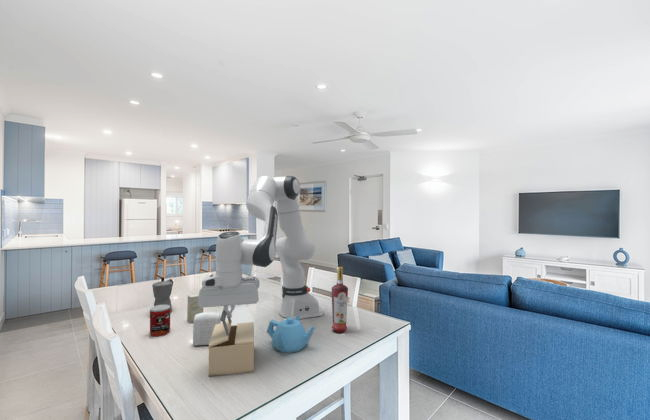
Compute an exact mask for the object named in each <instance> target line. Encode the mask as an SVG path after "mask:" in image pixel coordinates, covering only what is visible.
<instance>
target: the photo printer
mask: <svg viewBox="0 0 650 420" xmlns="http://www.w3.org/2000/svg"><path fill="white" fill-rule="evenodd" d="M220 318H221V313H219V312H215V311H203V313H199V314H196V315H195V317H194V321H193V326H192V327H193V329H192V330H193V331H192V345H193V346H194V347H195V346H197V347H198V346H207V345H208V346H209V342H210V339H211V336H212V333H213V330H214V327H215V325H217V324H219V323H222V321H221V320H220Z"/></svg>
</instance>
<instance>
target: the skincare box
mask: <svg viewBox="0 0 650 420" xmlns="http://www.w3.org/2000/svg"><path fill="white" fill-rule="evenodd" d="M198 296H199V293H195V294H189V295H187V317H186V318H187V319H186V321H187V322H188V323H190V324H191V323H193V321H194V317H195V315H196V314H199V313H203V312H204V307H203V308H200V307H199V306H198Z"/></svg>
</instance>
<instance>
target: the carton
mask: <svg viewBox="0 0 650 420" xmlns="http://www.w3.org/2000/svg"><path fill="white" fill-rule="evenodd" d="M254 365H255V323H254V322H253V321H252V322H251V321H250V322H248V321H247V322H237V324H231V328H230V333H229V338H228V341H225V342H222V343H220V344H217V345H214V346H211V347H209V346H208V377H217V376H225V375H233V374H241V373H250V372H251V373H252V372H255V369H254V368H255V367H254Z"/></svg>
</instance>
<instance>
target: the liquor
mask: <svg viewBox="0 0 650 420" xmlns="http://www.w3.org/2000/svg"><path fill="white" fill-rule="evenodd" d="M343 273H344V267H343V266H337V267H336V274H337V276H336V284H334V285H333V286H332V287H331V305H332V306H331V307H332V326H331V329H332V330H333V331H334V332H336V333H338V334H339V333H341V334H342V333H345V331H346V330H347V329H348V326H347V316H348V315H347V313H348V312H347V311H348V298H349V296H348V295H349V288H348V286H347V285H345V284H344V279H343V277H344V275H343Z"/></svg>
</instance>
